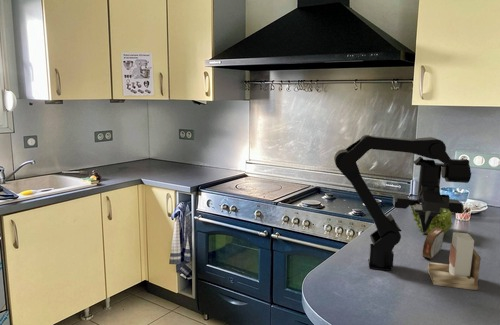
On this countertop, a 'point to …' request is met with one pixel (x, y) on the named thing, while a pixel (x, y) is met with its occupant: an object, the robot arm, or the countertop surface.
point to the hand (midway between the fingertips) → (424, 231)
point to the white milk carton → (461, 254)
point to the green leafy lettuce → (436, 220)
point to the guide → (444, 278)
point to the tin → (433, 243)
